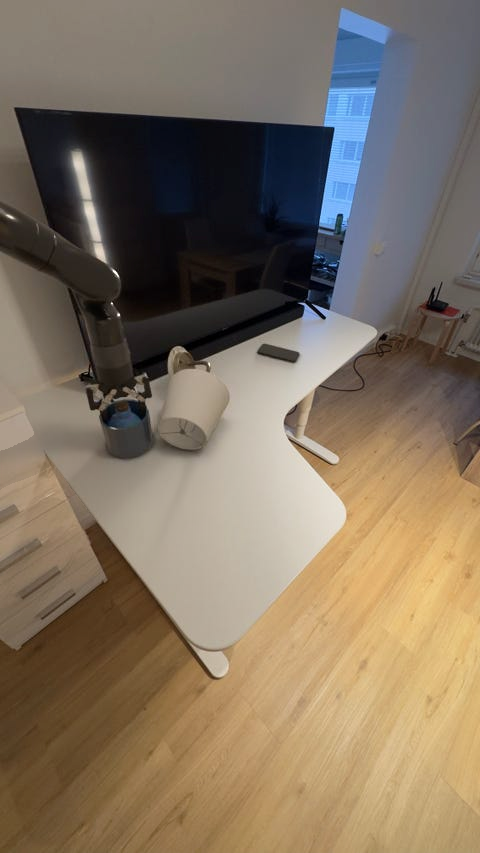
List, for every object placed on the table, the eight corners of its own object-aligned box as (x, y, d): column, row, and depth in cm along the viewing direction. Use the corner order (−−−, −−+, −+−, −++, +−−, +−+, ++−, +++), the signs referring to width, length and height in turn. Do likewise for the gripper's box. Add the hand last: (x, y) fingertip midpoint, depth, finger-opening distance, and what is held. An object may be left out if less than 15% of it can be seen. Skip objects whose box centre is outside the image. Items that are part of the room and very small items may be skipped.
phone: (295, 361, 125) (256, 351, 128) (294, 363, 125) (256, 353, 129) (300, 352, 130) (263, 342, 134) (299, 354, 131) (262, 344, 134)
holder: (111, 463, 85) (103, 434, 78) (104, 434, 92) (95, 405, 86) (158, 451, 89) (153, 422, 82) (147, 423, 97) (142, 395, 90)
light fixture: (249, 370, 109) (224, 454, 88) (197, 376, 116) (161, 455, 94) (234, 325, 98) (201, 408, 76) (176, 333, 104) (131, 412, 83)
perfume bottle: (127, 452, 87) (119, 416, 79) (112, 441, 90) (102, 405, 82) (146, 439, 91) (140, 404, 83) (131, 429, 93) (123, 393, 85)
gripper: (141, 344, 79) (149, 400, 89) (74, 355, 74) (92, 413, 84) (149, 360, 74) (157, 417, 84) (78, 373, 69) (96, 432, 79)
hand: (124, 415), depth 84 cm, fingers open, 8 cm apart
